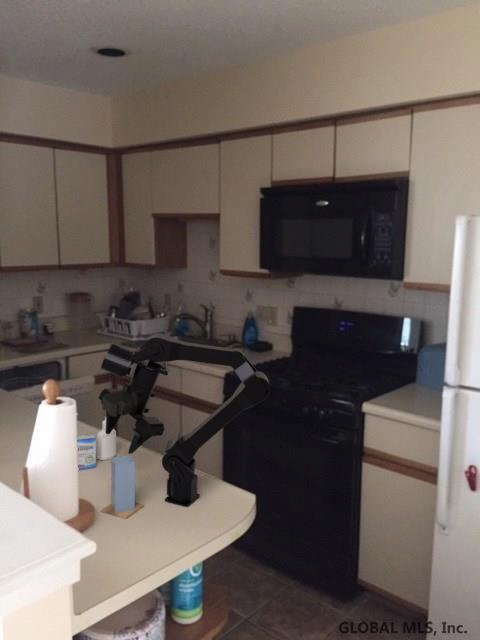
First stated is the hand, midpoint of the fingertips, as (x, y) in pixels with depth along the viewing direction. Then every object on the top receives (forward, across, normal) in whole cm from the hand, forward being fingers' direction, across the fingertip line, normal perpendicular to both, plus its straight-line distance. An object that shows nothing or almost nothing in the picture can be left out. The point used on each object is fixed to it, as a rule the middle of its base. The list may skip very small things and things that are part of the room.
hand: (118, 443), depth 136 cm
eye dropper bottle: (+16, -18, +17) cm, 30 cm away
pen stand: (+12, +9, 0) cm, 15 cm away
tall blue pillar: (+12, +9, 0) cm, 15 cm away
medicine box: (+18, -18, +8) cm, 26 cm away
